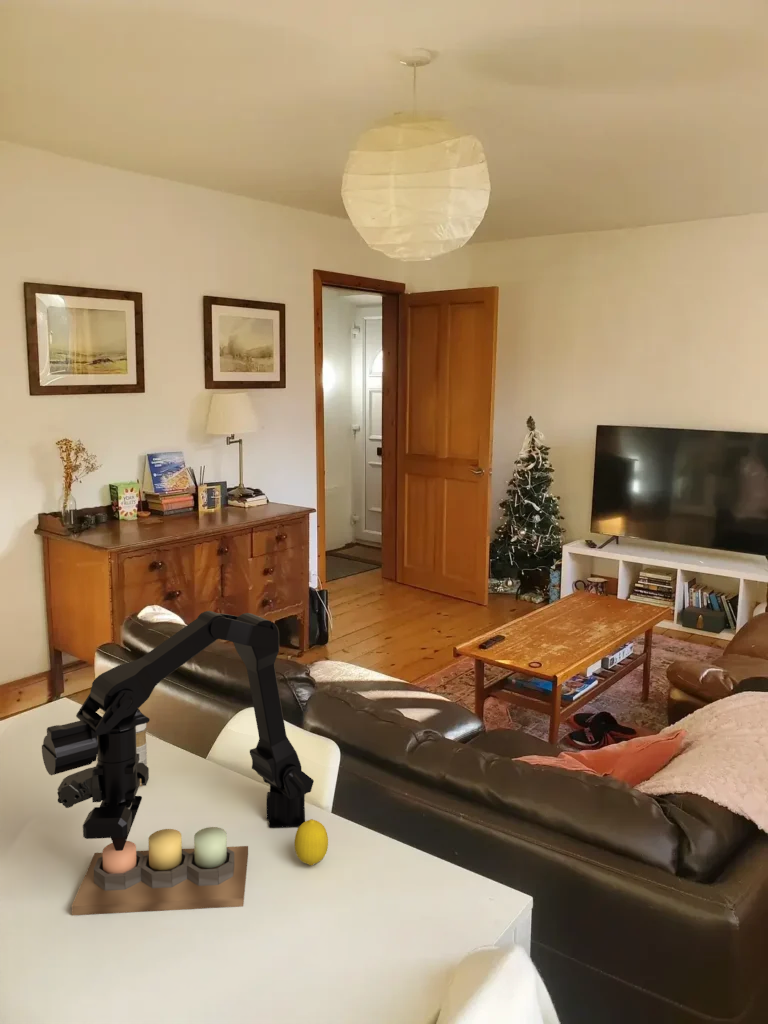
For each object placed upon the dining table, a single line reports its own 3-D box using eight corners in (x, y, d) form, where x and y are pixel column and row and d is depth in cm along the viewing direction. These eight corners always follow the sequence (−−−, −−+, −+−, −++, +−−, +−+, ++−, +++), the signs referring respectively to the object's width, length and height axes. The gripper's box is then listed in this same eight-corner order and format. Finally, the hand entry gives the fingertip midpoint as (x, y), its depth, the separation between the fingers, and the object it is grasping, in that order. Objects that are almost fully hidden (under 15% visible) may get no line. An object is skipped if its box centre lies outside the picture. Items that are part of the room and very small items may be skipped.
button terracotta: (139, 863, 127) (138, 839, 126) (133, 881, 122) (132, 857, 122) (107, 864, 126) (106, 841, 126) (99, 883, 122) (99, 859, 121)
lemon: (322, 876, 128) (323, 830, 127) (289, 872, 129) (290, 826, 128) (331, 858, 133) (332, 813, 132) (300, 853, 134) (300, 809, 133)
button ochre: (183, 851, 128) (183, 828, 127) (179, 869, 123) (179, 845, 122) (152, 852, 127) (151, 829, 126) (146, 871, 122) (145, 846, 122)
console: (248, 854, 134) (248, 833, 133) (243, 906, 120) (243, 883, 119) (94, 861, 131) (94, 839, 130) (71, 915, 117) (71, 891, 116)
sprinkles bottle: (142, 775, 161) (140, 712, 159) (151, 784, 157) (150, 719, 155) (120, 782, 158) (118, 717, 156) (128, 791, 154) (127, 725, 152)
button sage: (227, 849, 128) (227, 826, 128) (225, 867, 124) (225, 843, 123) (196, 850, 128) (196, 827, 127) (192, 868, 123) (192, 844, 122)
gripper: (78, 731, 130) (81, 820, 132) (43, 786, 111) (47, 888, 114) (148, 729, 131) (150, 817, 133) (125, 783, 113) (127, 884, 115)
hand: (119, 849), depth 124 cm, fingers closed, pressing on button terracotta
